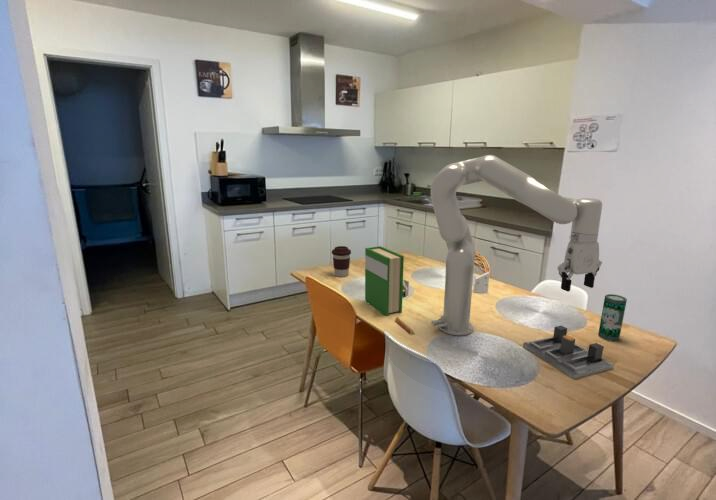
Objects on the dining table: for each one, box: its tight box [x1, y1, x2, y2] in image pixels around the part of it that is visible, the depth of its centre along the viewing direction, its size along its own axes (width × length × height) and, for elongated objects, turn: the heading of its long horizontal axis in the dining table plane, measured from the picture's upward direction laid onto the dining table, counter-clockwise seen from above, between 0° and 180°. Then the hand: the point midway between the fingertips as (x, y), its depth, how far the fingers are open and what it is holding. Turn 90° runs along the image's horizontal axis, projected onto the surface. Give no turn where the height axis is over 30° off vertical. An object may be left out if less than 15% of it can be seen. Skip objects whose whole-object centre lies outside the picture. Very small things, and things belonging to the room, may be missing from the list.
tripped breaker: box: [560, 334, 576, 355], centre depth 122 cm, size 3×2×5 cm
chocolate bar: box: [394, 316, 415, 336], centre depth 144 cm, size 3×12×2 cm, turn 22°
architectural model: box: [402, 278, 410, 298], centre depth 175 cm, size 3×7×7 cm, turn 38°
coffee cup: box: [331, 245, 352, 278], centre depth 202 cm, size 10×10×15 cm
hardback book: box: [364, 245, 405, 317], centre depth 160 cm, size 18×7×24 cm, turn 28°
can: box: [597, 293, 628, 342], centre depth 135 cm, size 6×6×15 cm
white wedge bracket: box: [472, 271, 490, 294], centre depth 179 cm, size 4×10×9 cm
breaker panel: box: [522, 325, 615, 380], centre depth 123 cm, size 16×20×7 cm
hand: (576, 288), depth 127 cm, fingers open, 9 cm apart
